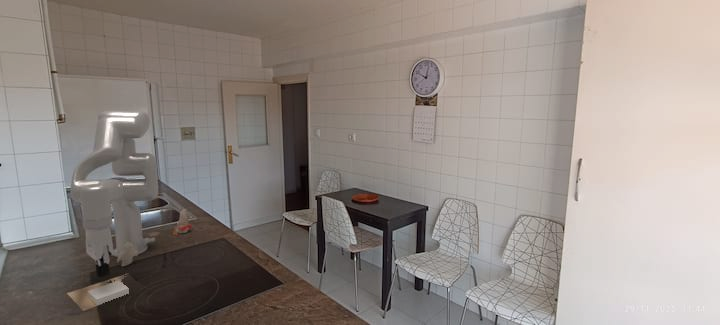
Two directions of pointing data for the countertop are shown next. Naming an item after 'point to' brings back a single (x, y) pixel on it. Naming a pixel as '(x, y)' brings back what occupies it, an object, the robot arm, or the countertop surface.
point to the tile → (108, 292)
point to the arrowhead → (127, 254)
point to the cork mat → (82, 294)
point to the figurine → (182, 223)
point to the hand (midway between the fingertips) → (103, 275)
